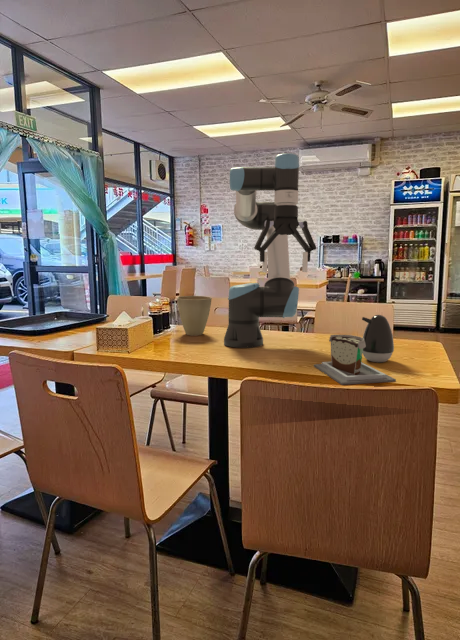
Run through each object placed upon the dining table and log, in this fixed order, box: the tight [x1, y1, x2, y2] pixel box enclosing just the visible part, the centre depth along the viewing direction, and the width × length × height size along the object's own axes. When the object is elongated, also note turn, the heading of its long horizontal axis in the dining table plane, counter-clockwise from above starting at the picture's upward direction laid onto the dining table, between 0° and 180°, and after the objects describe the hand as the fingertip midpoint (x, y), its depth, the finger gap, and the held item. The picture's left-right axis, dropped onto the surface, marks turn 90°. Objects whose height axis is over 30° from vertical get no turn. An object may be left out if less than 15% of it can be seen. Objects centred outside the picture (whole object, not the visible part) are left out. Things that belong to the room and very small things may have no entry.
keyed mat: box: [313, 361, 397, 386], centre depth 131 cm, size 20×16×2 cm
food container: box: [328, 334, 366, 375], centre depth 131 cm, size 12×6×10 cm, turn 30°
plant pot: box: [176, 295, 212, 337], centre depth 192 cm, size 15×15×16 cm
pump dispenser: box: [361, 314, 395, 363], centre depth 145 cm, size 10×10×15 cm
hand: (284, 272), depth 145 cm, fingers open, 13 cm apart
